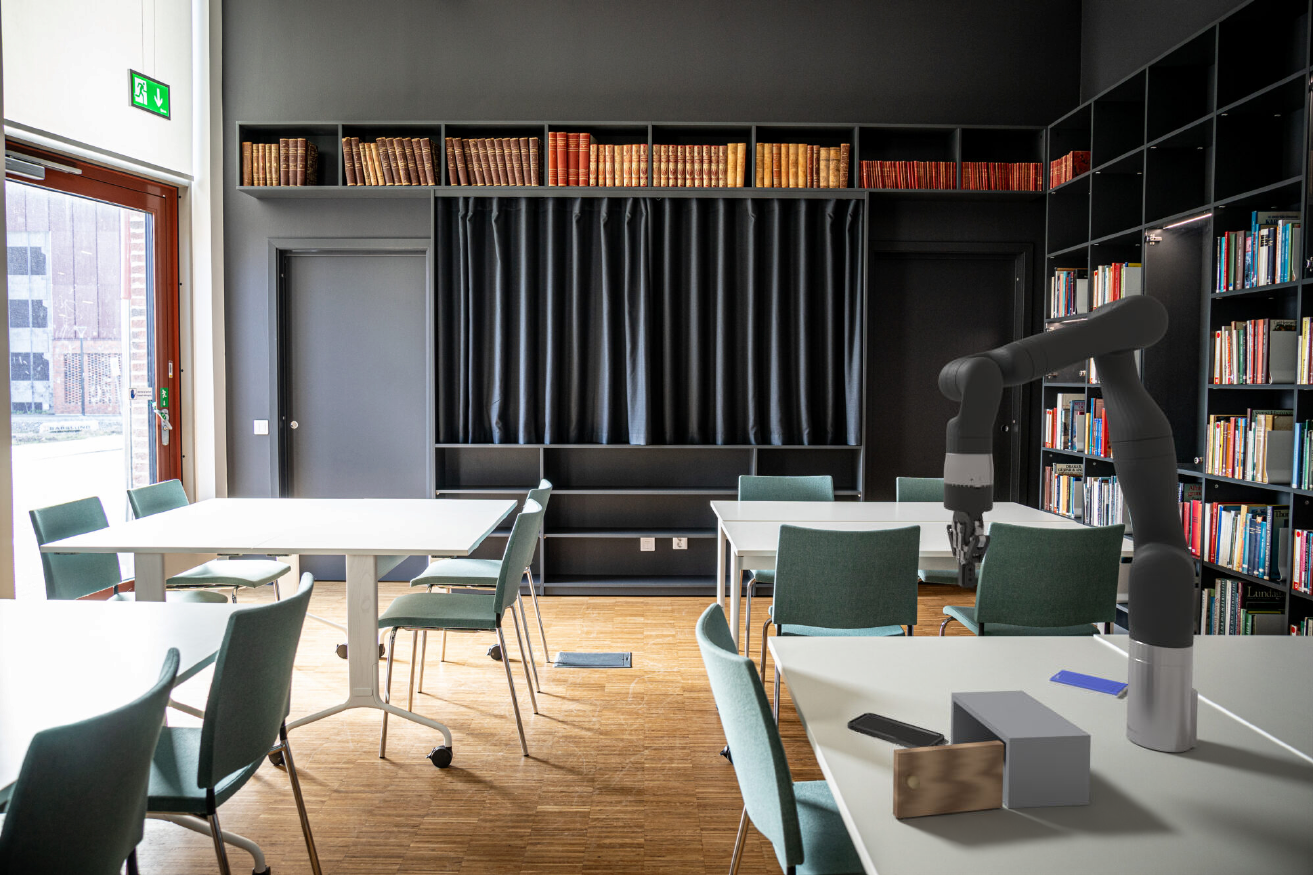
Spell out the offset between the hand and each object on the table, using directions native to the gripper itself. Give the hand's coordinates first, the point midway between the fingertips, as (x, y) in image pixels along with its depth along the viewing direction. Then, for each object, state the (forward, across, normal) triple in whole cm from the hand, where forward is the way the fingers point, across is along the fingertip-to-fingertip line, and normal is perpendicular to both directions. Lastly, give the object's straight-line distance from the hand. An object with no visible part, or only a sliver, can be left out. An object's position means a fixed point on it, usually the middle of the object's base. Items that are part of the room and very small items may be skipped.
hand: (966, 586), depth 132 cm
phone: (+28, -6, -10) cm, 30 cm away
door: (+27, +21, -10) cm, 36 cm away
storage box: (+27, +10, +4) cm, 29 cm away
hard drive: (+28, -30, +37) cm, 55 cm away
